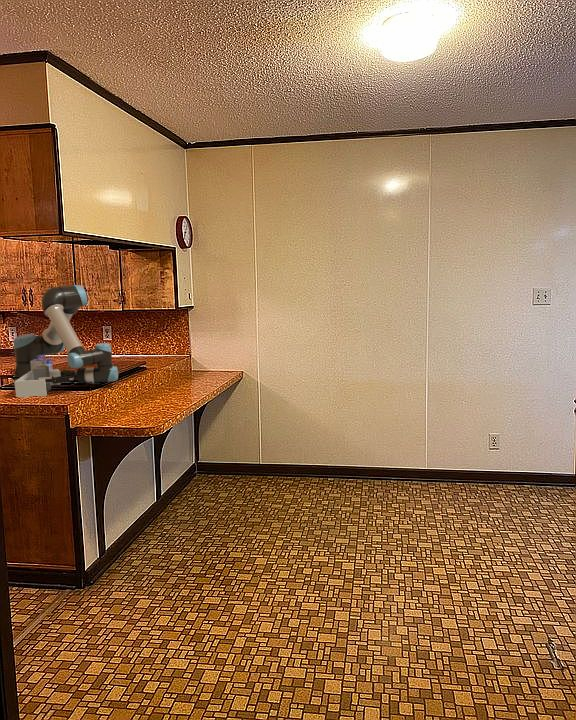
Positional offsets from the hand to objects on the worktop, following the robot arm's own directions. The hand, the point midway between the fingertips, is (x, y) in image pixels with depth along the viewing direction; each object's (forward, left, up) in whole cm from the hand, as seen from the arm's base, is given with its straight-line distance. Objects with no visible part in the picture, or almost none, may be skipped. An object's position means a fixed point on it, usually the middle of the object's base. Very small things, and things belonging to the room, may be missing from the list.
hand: (43, 377), depth 315 cm
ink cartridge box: (-21, -7, -7) cm, 23 cm away
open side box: (-1, -3, -7) cm, 7 cm away
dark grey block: (-1, -1, -7) cm, 7 cm away
